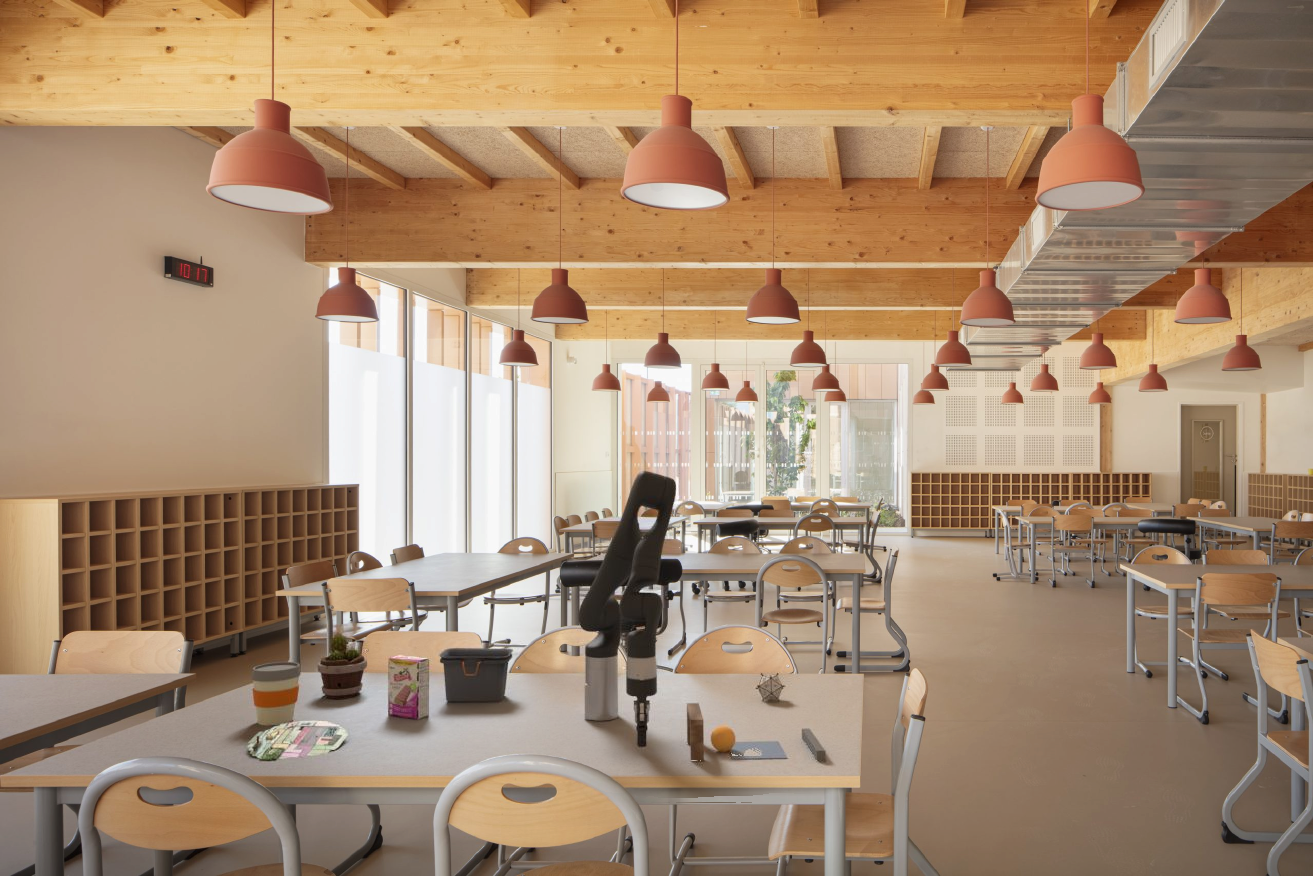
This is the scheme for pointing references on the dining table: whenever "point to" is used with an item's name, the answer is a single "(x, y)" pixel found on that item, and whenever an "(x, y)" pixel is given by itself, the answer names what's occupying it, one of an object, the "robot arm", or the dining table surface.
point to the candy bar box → (408, 687)
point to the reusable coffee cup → (275, 691)
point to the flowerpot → (341, 670)
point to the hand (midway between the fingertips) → (641, 746)
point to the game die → (770, 687)
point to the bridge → (695, 731)
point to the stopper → (813, 744)
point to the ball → (723, 738)
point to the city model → (297, 740)
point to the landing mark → (767, 747)
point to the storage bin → (475, 674)
